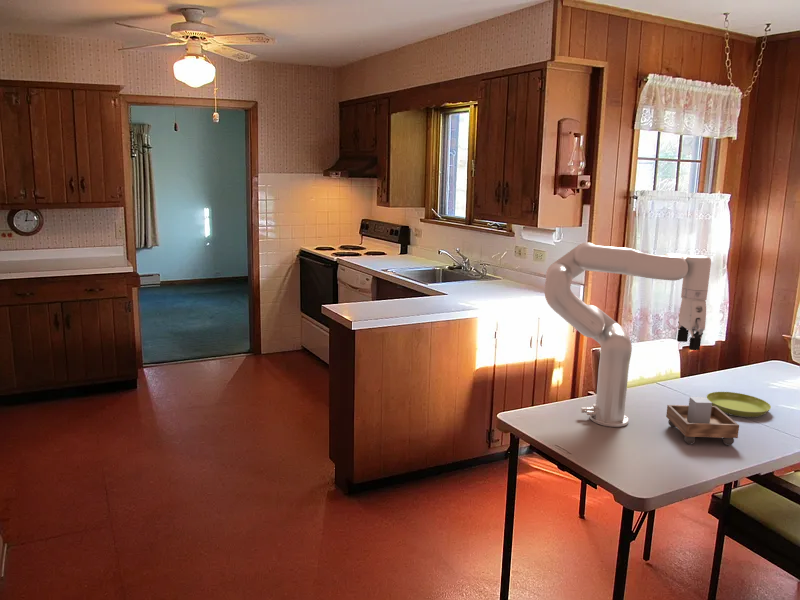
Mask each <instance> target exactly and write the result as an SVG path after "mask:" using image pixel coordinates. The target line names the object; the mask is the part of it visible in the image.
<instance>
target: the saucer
mask: <svg viewBox="0 0 800 600" xmlns="http://www.w3.org/2000/svg"><path fill="white" fill-rule="evenodd" d="M706 398H707V399H708V400H709V401H710V402H712V406H716V407H718V408H719V409H720V410H721V411H722V412H724V413H725V414H726V413H727V414H726V415H730V416H735V417H739V416H740V417H741V418H757V417H761V416H763V415H765V414H767V413H768V412H769V411H770V410H771V408H772V406H771V404H770V403H769V402H768V401H766V400H763V399H761V398H758V397H756V396H753V395H749V394H745V393H740V392H731V391H714V392H710V393H708V394H707V395H706Z"/></svg>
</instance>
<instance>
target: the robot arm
mask: <svg viewBox="0 0 800 600" xmlns="http://www.w3.org/2000/svg"><path fill="white" fill-rule="evenodd" d="M711 266H712V259H711V258H710V257H709V256H706V255H702V254H701V255H699V254H691V255H689V254H688V255H687V254H681V253H675V252H667V253H664V254H662V255H658V254H650V253H645V252H641V251H639V250H636V249H633V248H629V247H620V246H619V247H617V246H608V245H607V246H606V245H605V246H604V245H597V244H595V243H592V242H587V241H586V242H582V243H580V244H578V245H576V246H575V247H574V248H573V249H571V250H569V251H568V252H567V253H565V254H564V255H562V257H560V258H558V259H557V260H556V261H554V262H552V264H550V265H549V267H548V268H547V269H546V273H545V282H544V290H543V291H544V296H545V301H546V302H547V304H548V306H549V307H550V308H551V309H552V311H554V312H555V313H556V314H558V315H559V316H560V317H561V319H564V320H565V321H566V322H567V323H568V324H569V325H570V326H572V327H573V328H574V329H575V330H577V332H579V333H580V334H581V335H582V336H584V337H586V338H591V339H593V340H594V341H595V342H597V343H598V344H599V346H600V352H599V353H600V356H599V362H598V363H599V364H598V370H597V371H598V372H597V385H596V386H597V387H596V397H595V403H593V404H592V406H590V407H585V406H584V407H583V406H581V407H580V413H581V414H583V413H584V414H586V415H587V416H589V418H590V420H591V421H592V422H594V423H595V424H597V425H600V426H604V427H611V428H620V427H625V426H626V425H628V424H629V423H630V422H629V421H630V419H629V417H628V416H627V415H625V410H626V400H627V390H628V379H629V371H630V370H629V369H630V362H631V356H632V350H633V347H632V339H630V336H629V334H628V332H627V331H626V329H625V328H624V327H623V326H622V325H621V324H619V323H618V322H617V321H616V320H614V319H613V317H611V316H609V315H608V314H607V313H605V312H604V311H603V310H602V309H600V308H599V307H598V306H596V305H593V304H587V303H585V301H583V300H582V299H581V298H579V297H578V296H577V295H576V294H574V293H573V292H572V290H571V285H572V283H573V279H576V278H577V276H579V275H580V274H582V273H583V272H585V271H589V272H595V273H596V272H598V273H609V274H618V275H626V276H629V277H630V276H632V277H638V278H644V279H645V278H646V279H652V280H653V279H654V280H660V281H661V280H663V281H674V282H675V281H680V280H682V286H681V293H680V299H681V303H680V308H679V314H678V322H677V323H678V326H677V329H678V330H677V337H676V341H677V342H681V343H685V342H688V338H689V345H688V349H689V350H690V351H700V349H701V343H702V342H701V341H702V338H703V335H704V331H705V330H706V319H707V299H708V291H709V283H710V282H709V281H710V276H711V275H710V272H711ZM689 331H690V334H691V335H690V336H691V337H689Z"/></svg>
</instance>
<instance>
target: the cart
mask: <svg viewBox="0 0 800 600" xmlns="http://www.w3.org/2000/svg"><path fill="white" fill-rule="evenodd" d="M666 406H667V408H666V413H665V415H666V418H667V419H668V425H669V426H670V427H671V428H676V429H678V431H680V433H681V434H682V435H683V436H684V437H683V441H684V442H685V443H686V444H687V445H692V444H694V443H695V442H696V438H721V439H722V442H723V443H724V444H725V445H727V446H731V445H733V444H734V443H735V439H738V438H739V430H740V424H738V423H737V422H736V421H735V420H734V419H732V418H731V417H730V416H728V414H726V413H724V412H722V411H721V410H720V409H719V408H718V407H716V406H712V408H711V416H710V424H709V423H690V422H689V421H688V420H687V416H688V408H689V404H688V405H687V404H686V405H682V404H680V405H679V404H667V405H666Z"/></svg>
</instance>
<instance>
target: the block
mask: <svg viewBox="0 0 800 600" xmlns="http://www.w3.org/2000/svg"><path fill="white" fill-rule="evenodd" d="M688 405H689V408H688V416H687V420H688V421H689V422H690V423H709V424H710V416H711V408H712V402H710V401H709V400H708V399H707V396H706V397H705V396H703V397H702V396H689V399H688Z"/></svg>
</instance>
